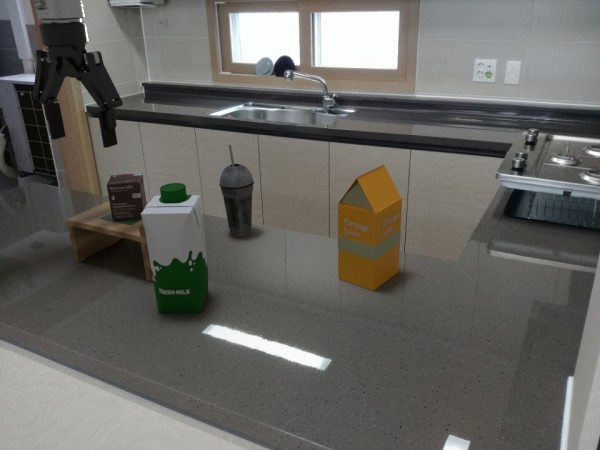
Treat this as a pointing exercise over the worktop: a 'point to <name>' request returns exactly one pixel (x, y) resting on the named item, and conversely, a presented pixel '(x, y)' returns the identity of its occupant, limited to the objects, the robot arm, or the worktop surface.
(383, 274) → the orange juice
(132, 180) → the box
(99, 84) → the robot arm
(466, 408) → the worktop surface
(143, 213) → the milk carton
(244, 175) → the beverage cup
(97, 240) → the shelf
